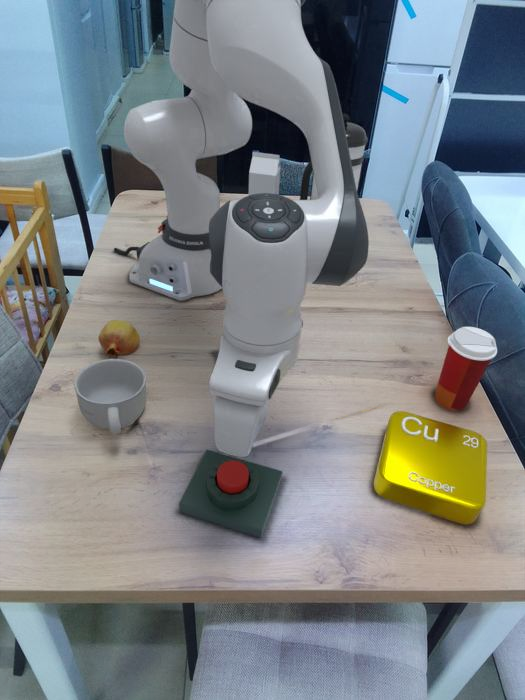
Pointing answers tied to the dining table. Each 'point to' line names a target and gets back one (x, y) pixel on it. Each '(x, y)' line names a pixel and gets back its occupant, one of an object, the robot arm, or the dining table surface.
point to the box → (231, 495)
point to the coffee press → (356, 150)
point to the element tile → (433, 467)
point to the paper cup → (464, 366)
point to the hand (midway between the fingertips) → (256, 423)
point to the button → (232, 477)
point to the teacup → (111, 393)
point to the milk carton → (264, 174)
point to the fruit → (118, 338)
